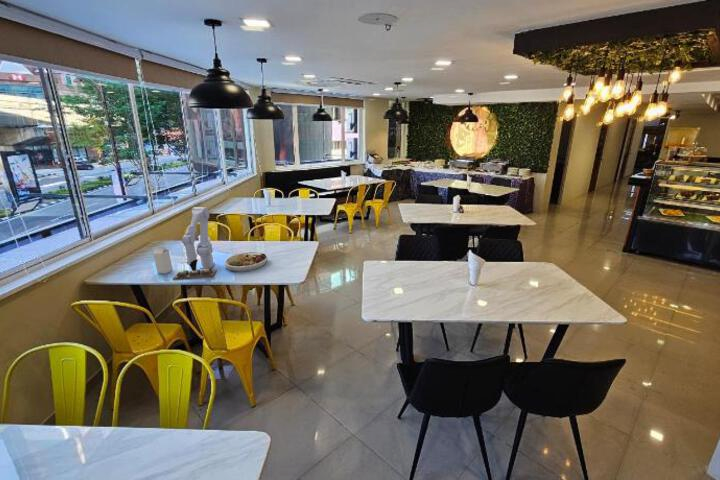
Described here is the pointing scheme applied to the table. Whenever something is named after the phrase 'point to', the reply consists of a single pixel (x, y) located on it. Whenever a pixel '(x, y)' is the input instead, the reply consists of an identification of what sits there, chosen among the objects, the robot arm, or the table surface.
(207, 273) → the panel
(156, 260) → the milk carton
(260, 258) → the bowl
